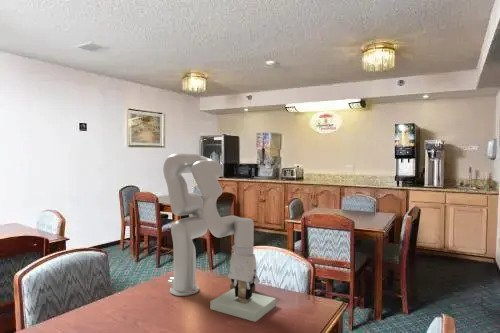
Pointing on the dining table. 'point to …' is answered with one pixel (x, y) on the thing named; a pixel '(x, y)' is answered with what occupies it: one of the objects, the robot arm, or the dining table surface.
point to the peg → (242, 292)
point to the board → (243, 305)
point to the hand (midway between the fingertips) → (243, 296)
